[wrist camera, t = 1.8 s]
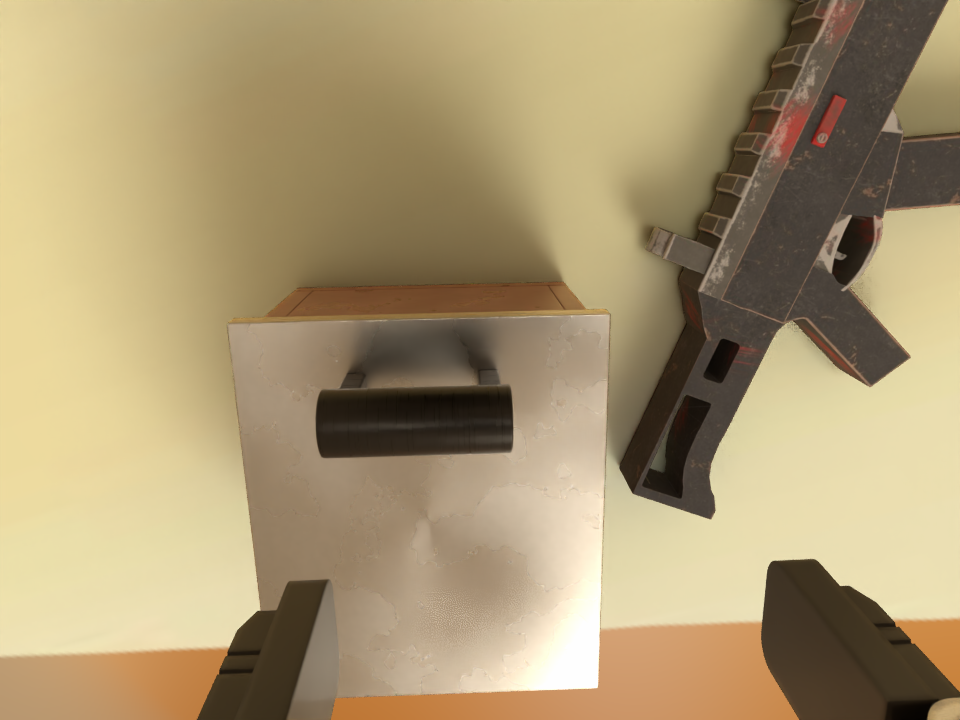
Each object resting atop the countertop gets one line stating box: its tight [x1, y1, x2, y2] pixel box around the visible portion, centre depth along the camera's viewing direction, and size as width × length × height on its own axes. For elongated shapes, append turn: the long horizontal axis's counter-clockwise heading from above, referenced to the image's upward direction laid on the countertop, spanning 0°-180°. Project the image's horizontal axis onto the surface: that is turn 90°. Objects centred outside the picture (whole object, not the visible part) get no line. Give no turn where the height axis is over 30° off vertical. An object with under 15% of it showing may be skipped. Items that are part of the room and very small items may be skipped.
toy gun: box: [620, 0, 960, 519], centre depth 32 cm, size 3×32×15 cm
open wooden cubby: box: [265, 282, 586, 317], centre depth 32 cm, size 14×13×10 cm
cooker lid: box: [227, 309, 611, 698], centre depth 24 cm, size 15×13×6 cm
